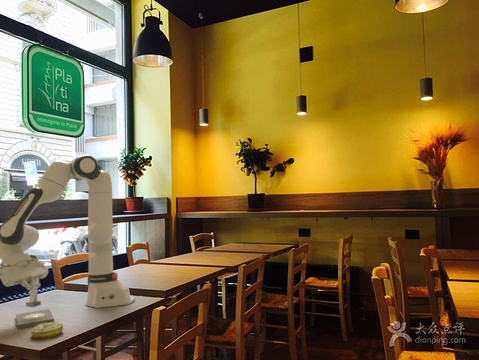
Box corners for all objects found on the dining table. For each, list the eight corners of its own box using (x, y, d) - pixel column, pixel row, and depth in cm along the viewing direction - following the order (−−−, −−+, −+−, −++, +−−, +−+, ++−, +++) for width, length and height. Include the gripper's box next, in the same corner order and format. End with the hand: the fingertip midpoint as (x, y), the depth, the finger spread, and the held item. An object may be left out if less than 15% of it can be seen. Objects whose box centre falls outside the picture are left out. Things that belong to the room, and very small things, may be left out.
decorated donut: (55, 328, 150) (55, 318, 150) (68, 333, 143) (68, 323, 143) (26, 336, 142) (26, 325, 142) (39, 342, 135) (39, 331, 135)
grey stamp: (26, 306, 160) (26, 276, 161) (33, 304, 163) (33, 274, 164) (33, 307, 159) (33, 276, 159) (40, 304, 162) (40, 274, 163)
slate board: (15, 317, 165) (15, 314, 165) (49, 312, 172) (49, 308, 172) (17, 329, 150) (17, 324, 150) (54, 322, 157) (54, 318, 157)
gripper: (-1, 262, 155) (17, 288, 151) (40, 255, 174) (57, 278, 170) (-10, 273, 156) (8, 299, 152) (33, 264, 175) (49, 287, 171)
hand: (34, 287), depth 161 cm, fingers closed on grey stamp, 2 cm apart
